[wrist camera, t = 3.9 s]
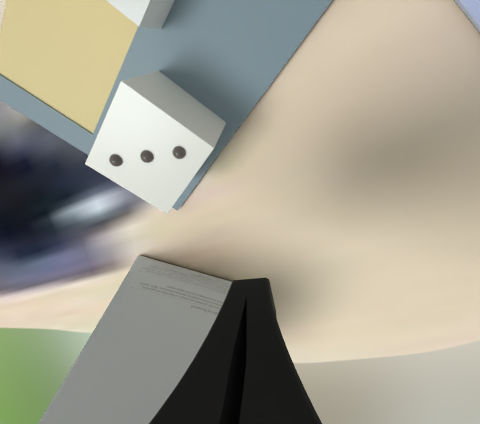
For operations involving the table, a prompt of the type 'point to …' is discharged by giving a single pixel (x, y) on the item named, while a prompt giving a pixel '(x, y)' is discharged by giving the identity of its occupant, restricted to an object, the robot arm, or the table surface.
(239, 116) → the board
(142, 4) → the collar
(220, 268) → the table surface
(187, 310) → the supplement box
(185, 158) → the die
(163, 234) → the table surface
